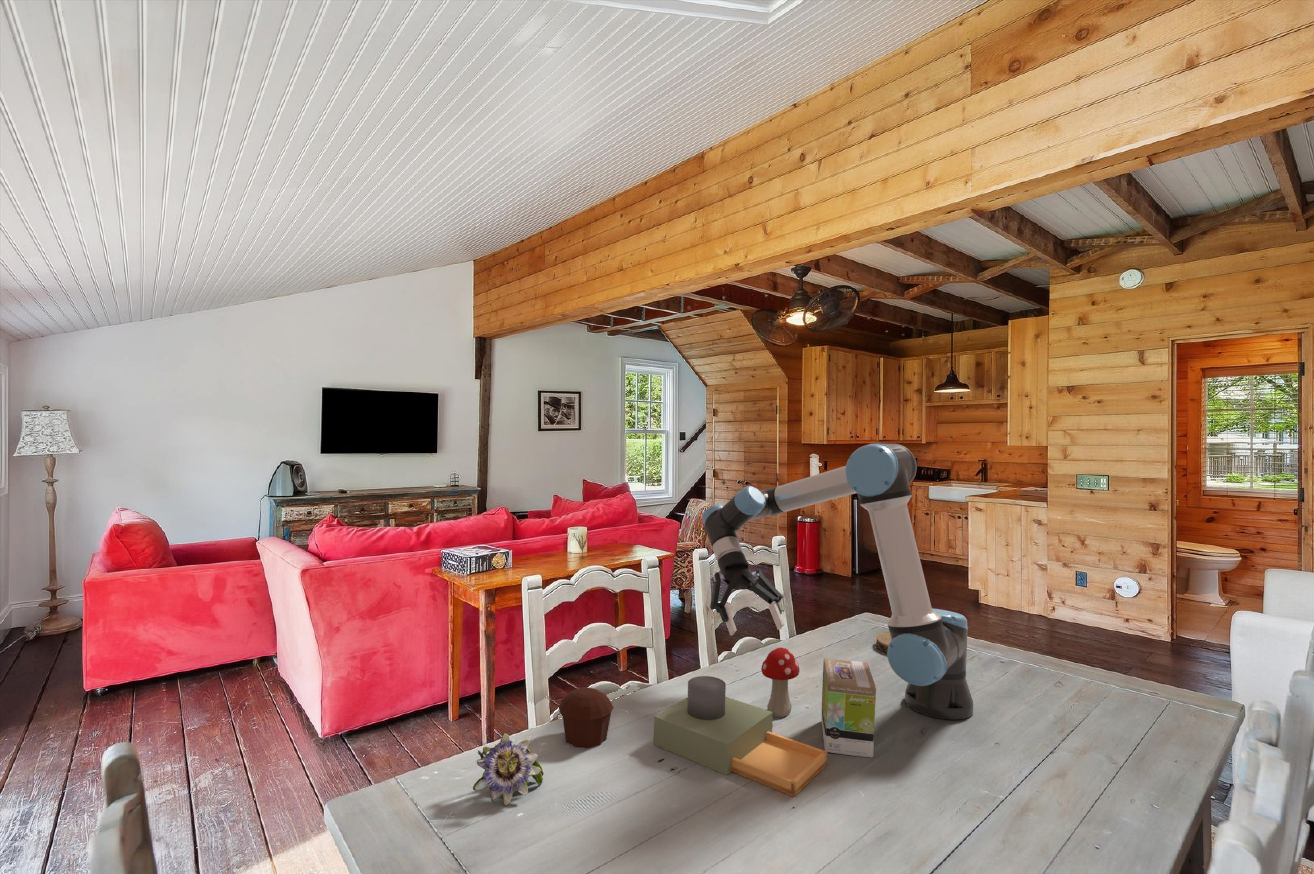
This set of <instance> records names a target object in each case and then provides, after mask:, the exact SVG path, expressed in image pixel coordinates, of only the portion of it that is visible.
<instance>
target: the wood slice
mask: <svg viewBox="0 0 1314 874" xmlns="http://www.w3.org/2000/svg"><path fill="white" fill-rule="evenodd" d="M875 641H876V644H875V645H876V648H877V649H878V651H880V652H882V653H884V654H886V655H887V650H888V646H889V644H890V642H891V636H890V632H889V631H885V632H881V633H878V634H877V635H876V640H875Z"/></svg>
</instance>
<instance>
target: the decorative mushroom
mask: <svg viewBox="0 0 1314 874" xmlns="http://www.w3.org/2000/svg"><path fill="white" fill-rule="evenodd" d="M760 669H761V670H760V671H761V673H762V675H763V677H765V678H768V679H770V680H771V683H772V684H771V691H770V697H769V700H768V703H767V704H766V705H767V710H768V711H771V712H773V718H785V717H788V716H790V714H791V711H792V708H793V705H792V702H791V700H790V694H789V680H792V679H795V678H797V677H798V676H799V674H800V666H799V663H798V661H797V660H796V658H795V656H794V654H793V653H792V651H791V650H789V649H787V648H786V647H776V648H774V649H772V650H770V651H769V653H768V654H767V656H766V657H765V660H763V662H762V664H761V668H760Z"/></svg>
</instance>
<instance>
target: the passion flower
mask: <svg viewBox="0 0 1314 874" xmlns="http://www.w3.org/2000/svg"><path fill="white" fill-rule="evenodd" d="M510 738H511V737H510V736H509V734H508V733H506V732H504V734H503V735H502V736H501V738H500V740H499V742H498V743H497V744H495V746H494V747H489V746H485V745H484V746H483V747H482V752H481V750H479V749H478V750H477V754H478V755H479V756H480V759H478V761H476V765H477V766H479V767H480V768H481V769H483V770H484V771H483V772H482V776H481V777H479V779H478V780H477V781H476V782H475V783H474V784H473V786H472V790H473V791H481V790H483V789H485V788H489V791H490V792H489V793H490V794H489V795H490V799H491V802H495V801H497V800H498V799H501V800H502V804H503V805H504V806H505V807H507V806H509V804H510V803H511V801H512V798H513V794H514V793H515V792H518V793H519V794H520V795H522V796H527V794H528V790H529V786H528V782H529V777H532V778H533V780H534V781H535V782H536V783H537V784H536V785H537V786H541V785H542V783H543V782H544V781H543V780H544V777H543V776H544V774H545V773H544V770H543V768H542V765H541V764H540V763H539V761H537V759H538V757H539V756H538V754H537V753H534V752H532V753H531V750H530V749H529V748H528V747H529V746H530V742H531V741H530V739H528V738H526V739H525V740H522V741H520V742H519V743H518V744H513V745H512V743H513V740H511V739H510Z"/></svg>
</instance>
